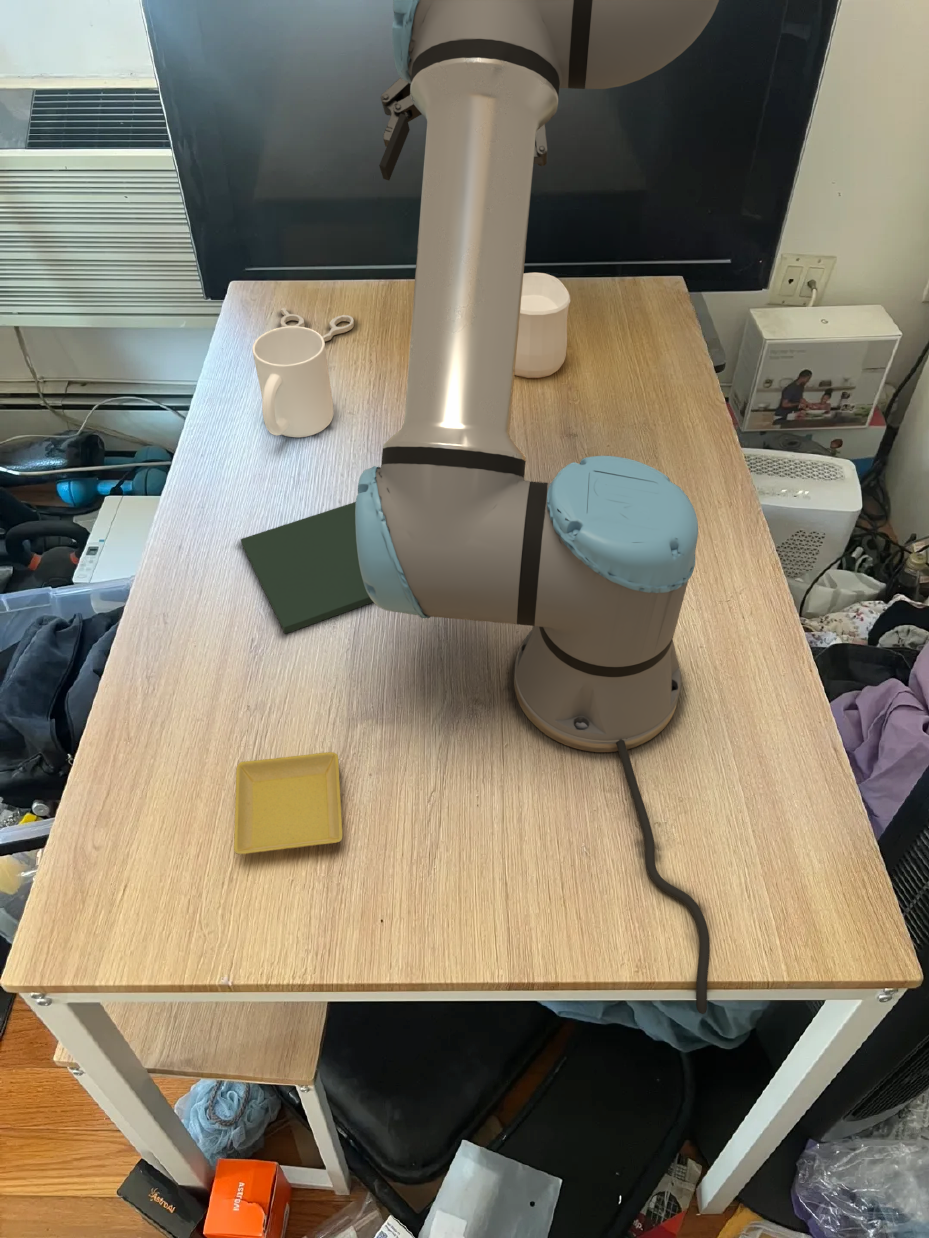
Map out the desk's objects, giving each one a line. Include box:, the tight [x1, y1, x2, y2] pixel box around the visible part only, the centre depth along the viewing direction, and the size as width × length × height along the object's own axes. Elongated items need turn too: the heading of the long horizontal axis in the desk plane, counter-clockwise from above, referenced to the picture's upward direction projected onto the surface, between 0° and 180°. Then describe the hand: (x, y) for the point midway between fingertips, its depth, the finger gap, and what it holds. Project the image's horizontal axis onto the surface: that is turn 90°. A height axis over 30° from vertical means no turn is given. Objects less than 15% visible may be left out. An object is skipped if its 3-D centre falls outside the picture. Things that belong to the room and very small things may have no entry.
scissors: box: [280, 307, 355, 342], centre depth 122 cm, size 11×1×20 cm
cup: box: [514, 272, 571, 379], centre depth 117 cm, size 10×10×10 cm
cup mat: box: [240, 501, 374, 634], centre depth 95 cm, size 14×14×1 cm
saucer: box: [233, 751, 344, 855], centre depth 76 cm, size 9×9×2 cm
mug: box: [251, 325, 335, 438], centre depth 108 cm, size 12×8×10 cm
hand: (438, 192), depth 104 cm, fingers open, 13 cm apart
